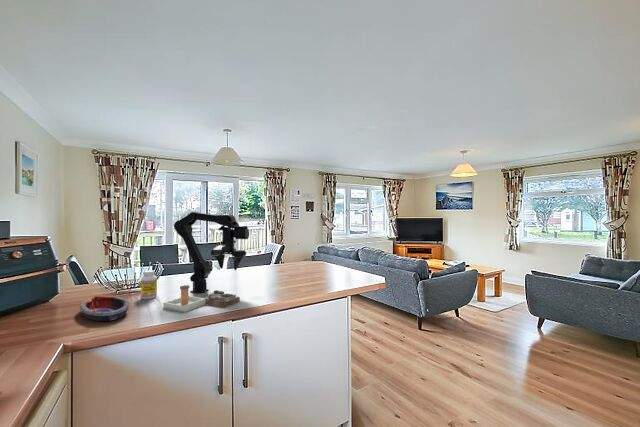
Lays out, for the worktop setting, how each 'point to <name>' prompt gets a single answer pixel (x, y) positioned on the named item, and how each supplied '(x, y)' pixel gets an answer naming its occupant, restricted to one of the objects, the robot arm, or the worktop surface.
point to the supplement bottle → (148, 285)
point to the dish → (104, 308)
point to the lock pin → (184, 295)
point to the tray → (177, 306)
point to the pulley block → (221, 299)
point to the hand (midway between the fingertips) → (228, 269)
